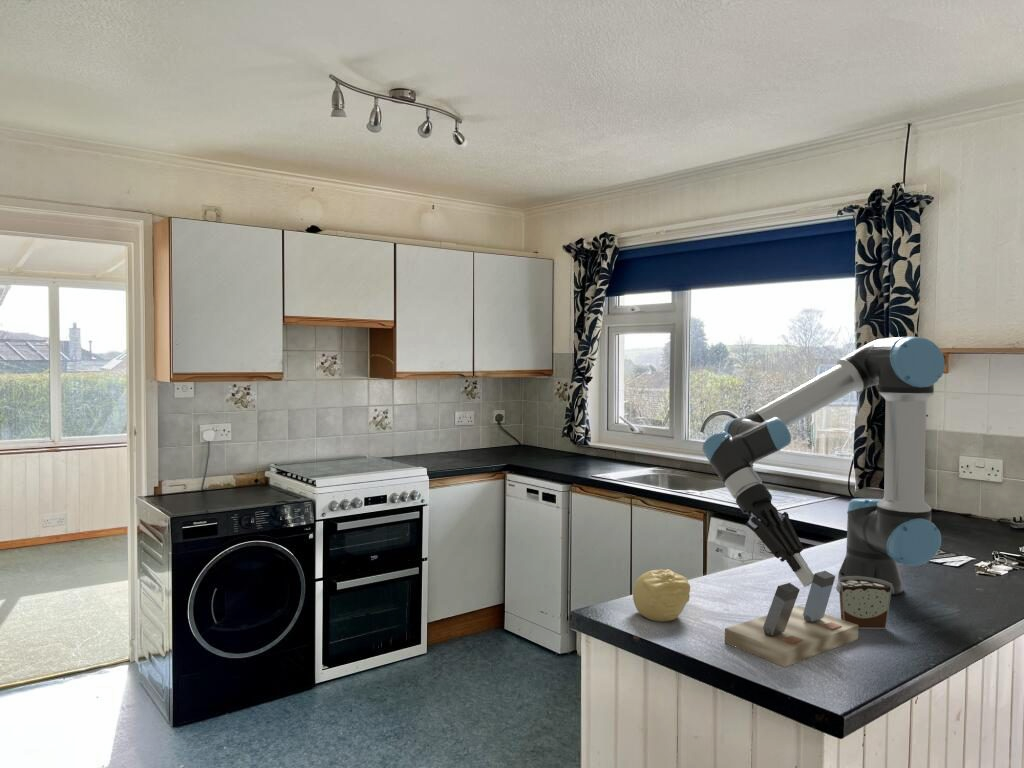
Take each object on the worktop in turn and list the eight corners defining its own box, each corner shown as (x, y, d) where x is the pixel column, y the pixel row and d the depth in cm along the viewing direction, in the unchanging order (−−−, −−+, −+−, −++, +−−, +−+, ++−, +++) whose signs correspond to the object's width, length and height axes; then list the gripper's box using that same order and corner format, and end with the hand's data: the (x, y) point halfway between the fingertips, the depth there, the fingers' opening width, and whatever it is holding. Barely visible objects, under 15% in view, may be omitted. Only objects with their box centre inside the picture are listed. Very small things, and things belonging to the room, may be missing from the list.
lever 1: (774, 627, 150) (790, 582, 147) (783, 634, 149) (800, 589, 145) (761, 631, 148) (777, 586, 145) (770, 638, 146) (787, 593, 143)
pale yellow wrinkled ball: (653, 629, 157) (654, 579, 157) (623, 610, 168) (624, 564, 168) (696, 622, 162) (698, 574, 161) (664, 605, 173) (666, 560, 172)
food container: (877, 619, 167) (879, 575, 167) (892, 629, 161) (894, 584, 160) (824, 618, 166) (826, 574, 166) (837, 628, 160) (839, 583, 160)
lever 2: (812, 614, 159) (825, 570, 156) (822, 620, 157) (835, 575, 154) (801, 618, 156) (814, 573, 154) (811, 624, 154) (824, 579, 152)
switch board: (798, 618, 166) (798, 604, 166) (858, 639, 154) (858, 623, 154) (724, 642, 150) (725, 626, 150) (784, 667, 139) (785, 650, 139)
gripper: (756, 498, 175) (816, 587, 162) (720, 503, 167) (780, 596, 154) (776, 480, 170) (840, 569, 157) (740, 484, 163) (804, 578, 150)
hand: (810, 583), depth 156 cm, fingers closed
